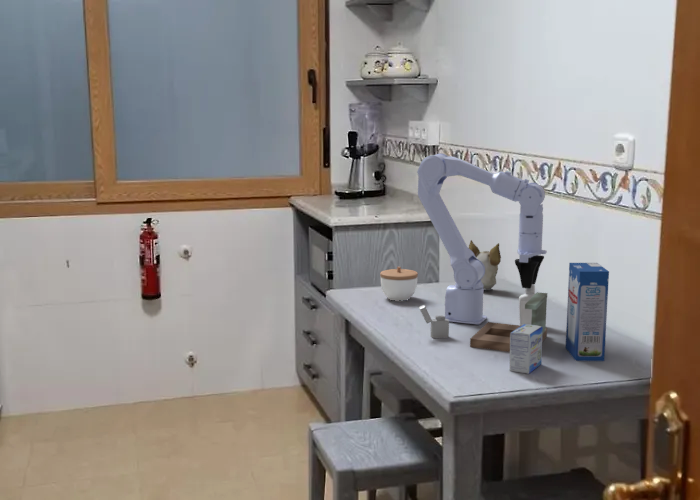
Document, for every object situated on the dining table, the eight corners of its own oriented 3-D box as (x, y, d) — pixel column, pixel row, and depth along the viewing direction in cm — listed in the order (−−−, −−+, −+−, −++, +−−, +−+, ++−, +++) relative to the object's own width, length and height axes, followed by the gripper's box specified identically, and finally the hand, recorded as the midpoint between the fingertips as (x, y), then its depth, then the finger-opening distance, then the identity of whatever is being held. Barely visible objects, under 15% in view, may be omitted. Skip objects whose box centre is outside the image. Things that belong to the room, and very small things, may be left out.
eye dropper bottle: (538, 329, 207) (537, 282, 205) (517, 327, 210) (515, 280, 208) (544, 324, 211) (543, 278, 209) (523, 322, 214) (522, 277, 212)
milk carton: (565, 347, 192) (569, 262, 188) (592, 347, 191) (597, 262, 188) (575, 361, 182) (579, 271, 178) (604, 361, 182) (609, 271, 178)
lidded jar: (420, 295, 243) (420, 264, 241) (414, 304, 233) (414, 271, 231) (383, 293, 246) (384, 262, 244) (376, 302, 235) (376, 269, 234)
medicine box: (528, 375, 173) (530, 334, 171) (508, 371, 175) (510, 331, 173) (541, 364, 179) (543, 326, 178) (522, 361, 182) (523, 323, 180)
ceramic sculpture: (508, 290, 250) (510, 241, 247) (494, 295, 243) (496, 244, 241) (477, 285, 257) (478, 237, 254) (463, 290, 250) (464, 241, 247)
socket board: (470, 347, 192) (471, 300, 190) (487, 329, 207) (489, 286, 205) (532, 354, 186) (534, 306, 184) (546, 336, 201) (548, 292, 199)
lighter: (447, 335, 201) (447, 303, 200) (448, 337, 200) (449, 305, 198) (418, 337, 200) (418, 304, 199) (419, 339, 199) (420, 306, 197)
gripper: (540, 237, 198) (538, 293, 201) (552, 229, 211) (550, 281, 214) (511, 235, 201) (509, 290, 203) (524, 227, 214) (522, 279, 216)
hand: (528, 285), depth 209 cm, fingers open, 4 cm apart
